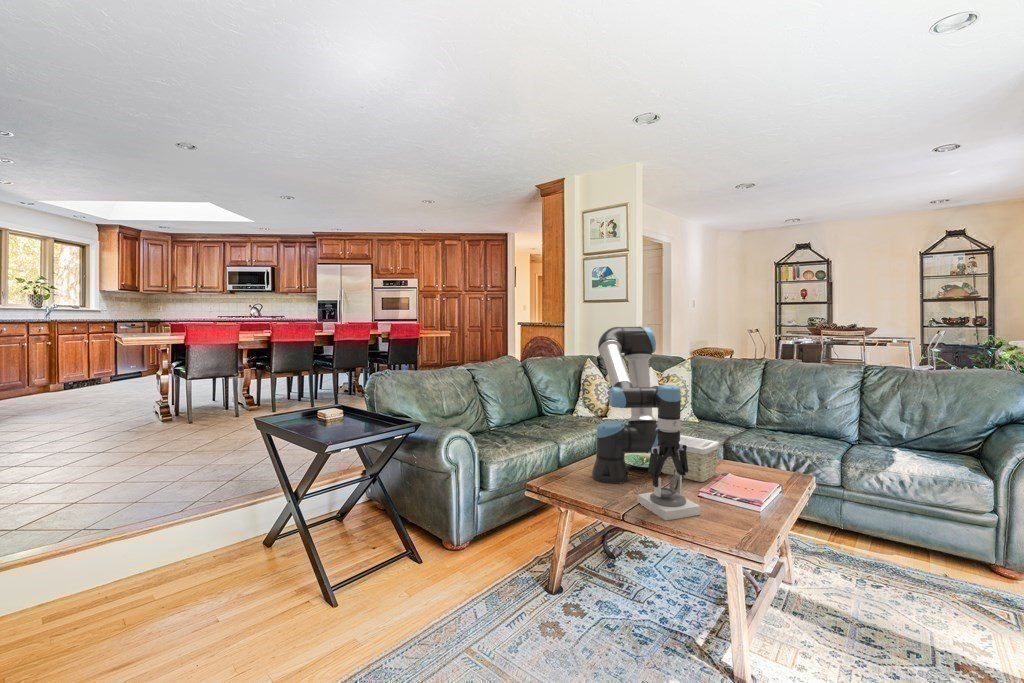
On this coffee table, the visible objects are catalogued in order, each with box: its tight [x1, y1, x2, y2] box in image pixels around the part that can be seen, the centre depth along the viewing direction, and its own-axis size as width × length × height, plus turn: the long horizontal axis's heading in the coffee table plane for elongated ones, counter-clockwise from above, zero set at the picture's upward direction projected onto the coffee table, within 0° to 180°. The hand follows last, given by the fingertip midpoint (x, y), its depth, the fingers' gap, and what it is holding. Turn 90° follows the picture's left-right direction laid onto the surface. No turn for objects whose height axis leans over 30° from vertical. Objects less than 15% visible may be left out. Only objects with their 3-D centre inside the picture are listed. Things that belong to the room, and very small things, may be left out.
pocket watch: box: [661, 468, 679, 496], centre depth 163 cm, size 8×8×10 cm
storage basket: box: [657, 434, 720, 483], centre depth 200 cm, size 24×16×15 cm
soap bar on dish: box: [637, 491, 701, 521], centre depth 163 cm, size 16×14×4 cm
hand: (667, 493), depth 163 cm, fingers closed on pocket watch, 8 cm apart
